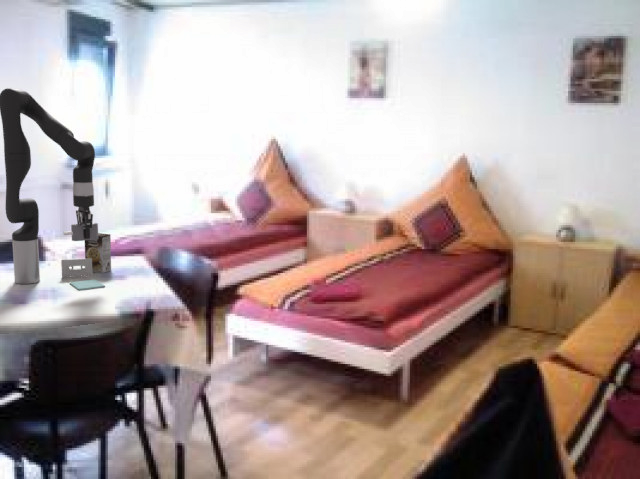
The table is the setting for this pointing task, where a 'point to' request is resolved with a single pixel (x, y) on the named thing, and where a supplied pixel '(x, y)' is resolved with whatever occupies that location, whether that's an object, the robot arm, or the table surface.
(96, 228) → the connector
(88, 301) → the table surface
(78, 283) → the teal rubber mat
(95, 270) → the coffee box
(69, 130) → the robot arm
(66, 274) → the cassette
